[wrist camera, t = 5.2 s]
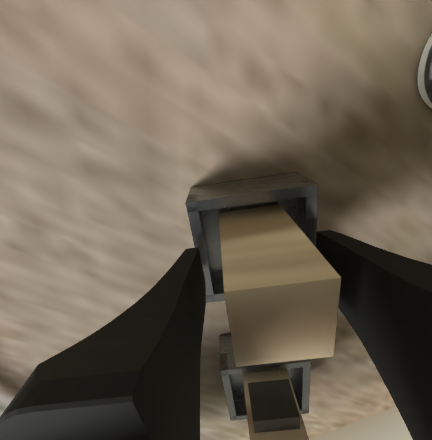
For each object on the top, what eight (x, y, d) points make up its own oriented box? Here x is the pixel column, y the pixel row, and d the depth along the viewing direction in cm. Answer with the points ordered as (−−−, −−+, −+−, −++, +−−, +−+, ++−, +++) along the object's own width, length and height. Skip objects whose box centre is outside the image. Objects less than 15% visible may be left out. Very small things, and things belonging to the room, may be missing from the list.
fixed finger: (285, 386, 18) (318, 506, 12) (244, 390, 18) (259, 511, 12) (284, 348, 16) (322, 468, 10) (239, 353, 16) (253, 474, 10)
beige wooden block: (218, 212, 12) (223, 291, 6) (279, 204, 12) (341, 277, 6) (228, 280, 13) (239, 388, 8) (281, 273, 13) (331, 379, 8)
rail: (296, 376, 19) (308, 413, 17) (228, 383, 20) (230, 420, 17) (296, 172, 12) (318, 184, 10) (191, 187, 13) (185, 202, 10)
